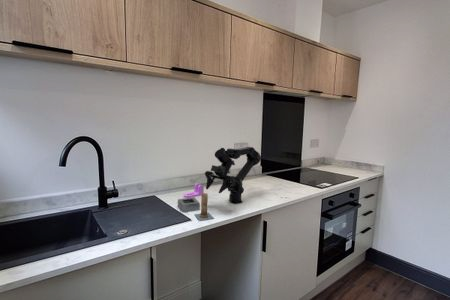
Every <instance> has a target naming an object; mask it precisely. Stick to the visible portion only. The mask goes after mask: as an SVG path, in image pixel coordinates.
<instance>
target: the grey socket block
mask: <svg viewBox="0 0 450 300" xmlns="http://www.w3.org/2000/svg"><path fill="white" fill-rule="evenodd" d="M177 207H178V208H179V210H180V211H181V213H186V212H187V213H188V212H193V211H199V210H200V211H201V202H199V200H197V198H196V197H191V198H185V197H184V198H178V199H177Z"/></svg>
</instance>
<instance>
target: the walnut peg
mask: <svg viewBox="0 0 450 300" xmlns="http://www.w3.org/2000/svg"><path fill="white" fill-rule="evenodd" d="M200 197H201V202H200V213H199V214H200V217H201V218H207V217H208V216H209V214H208V213H207V212H208V203H209V202H208V197H209V196H208V193H206V192H204V193H202V195H201V196H200Z"/></svg>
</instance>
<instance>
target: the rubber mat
mask: <svg viewBox="0 0 450 300" xmlns="http://www.w3.org/2000/svg"><path fill="white" fill-rule="evenodd" d="M207 213H208V214H209V216H208V217H207V218H201V217H200V213H196V214H194V217H195V218H196V220H197V221H198V222H201V221H209V220H214V219H215V217H214V216H212V214H211V213H210V212H208V211H207Z"/></svg>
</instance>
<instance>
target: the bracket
mask: <svg viewBox="0 0 450 300" xmlns="http://www.w3.org/2000/svg"><path fill="white" fill-rule="evenodd" d="M193 189H194V191H193V192H187V193H186V192H185V193H183V198H184V199H185V198H193V197H195V198H196V197H199V196H200V197H201V195H202V193H205V192H204V190H205V189H204V185H202V184H200V183H198V182H197V183H195V184H194V188H193Z"/></svg>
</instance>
